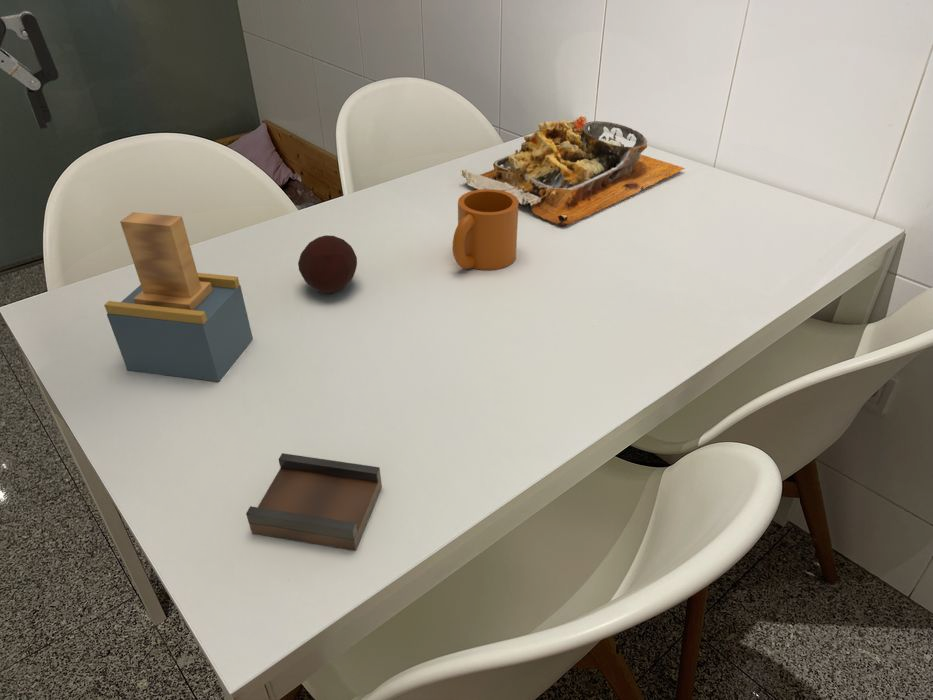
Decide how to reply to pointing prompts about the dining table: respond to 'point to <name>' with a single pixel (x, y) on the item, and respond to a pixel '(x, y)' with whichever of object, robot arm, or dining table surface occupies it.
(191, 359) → the blue railed block
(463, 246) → the mug
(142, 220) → the wooden pedestal block
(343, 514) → the brown u-shaped block
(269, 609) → the dining table surface
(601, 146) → the food tray
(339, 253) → the dark maroon ball
